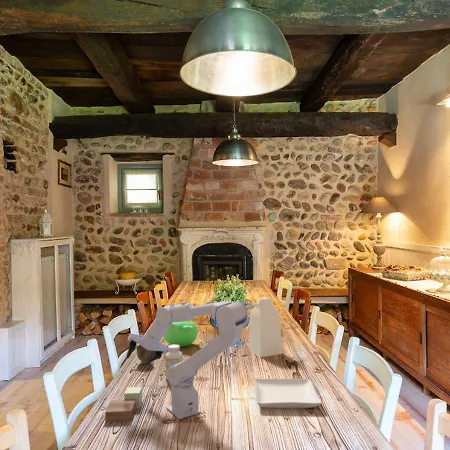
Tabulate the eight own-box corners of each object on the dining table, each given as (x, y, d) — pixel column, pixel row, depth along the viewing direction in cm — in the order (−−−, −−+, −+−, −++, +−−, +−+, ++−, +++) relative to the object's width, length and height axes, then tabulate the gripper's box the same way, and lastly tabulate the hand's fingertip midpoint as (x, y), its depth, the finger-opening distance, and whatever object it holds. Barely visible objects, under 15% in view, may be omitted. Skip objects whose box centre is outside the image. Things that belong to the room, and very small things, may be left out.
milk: (260, 357, 178) (259, 301, 178) (248, 350, 188) (248, 297, 189) (282, 353, 183) (281, 299, 183) (269, 347, 193) (269, 295, 193)
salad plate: (254, 386, 146) (254, 377, 146) (310, 386, 145) (310, 377, 145) (256, 413, 124) (256, 402, 124) (322, 413, 124) (322, 402, 124)
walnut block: (131, 422, 119) (131, 410, 119) (105, 423, 118) (105, 411, 118) (135, 410, 127) (135, 399, 127) (111, 411, 126) (111, 400, 126)
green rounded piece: (200, 341, 204) (200, 313, 204) (194, 351, 187) (194, 321, 187) (167, 340, 206) (167, 313, 206) (158, 350, 189) (158, 320, 189)
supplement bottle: (174, 373, 158) (174, 342, 158) (185, 377, 154) (185, 345, 154) (162, 378, 153) (162, 346, 153) (173, 382, 149) (173, 349, 149)
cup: (156, 363, 171) (156, 345, 171) (142, 367, 165) (142, 349, 166) (146, 359, 176) (146, 342, 176) (133, 363, 171) (133, 345, 171)
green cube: (139, 408, 128) (139, 393, 128) (124, 408, 128) (124, 393, 128) (141, 401, 133) (141, 387, 133) (127, 401, 133) (127, 387, 133)
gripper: (173, 332, 138) (155, 357, 143) (137, 318, 134) (119, 345, 138) (173, 346, 132) (155, 372, 136) (135, 332, 127) (117, 359, 132)
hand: (137, 359), depth 137 cm, fingers open, 7 cm apart
